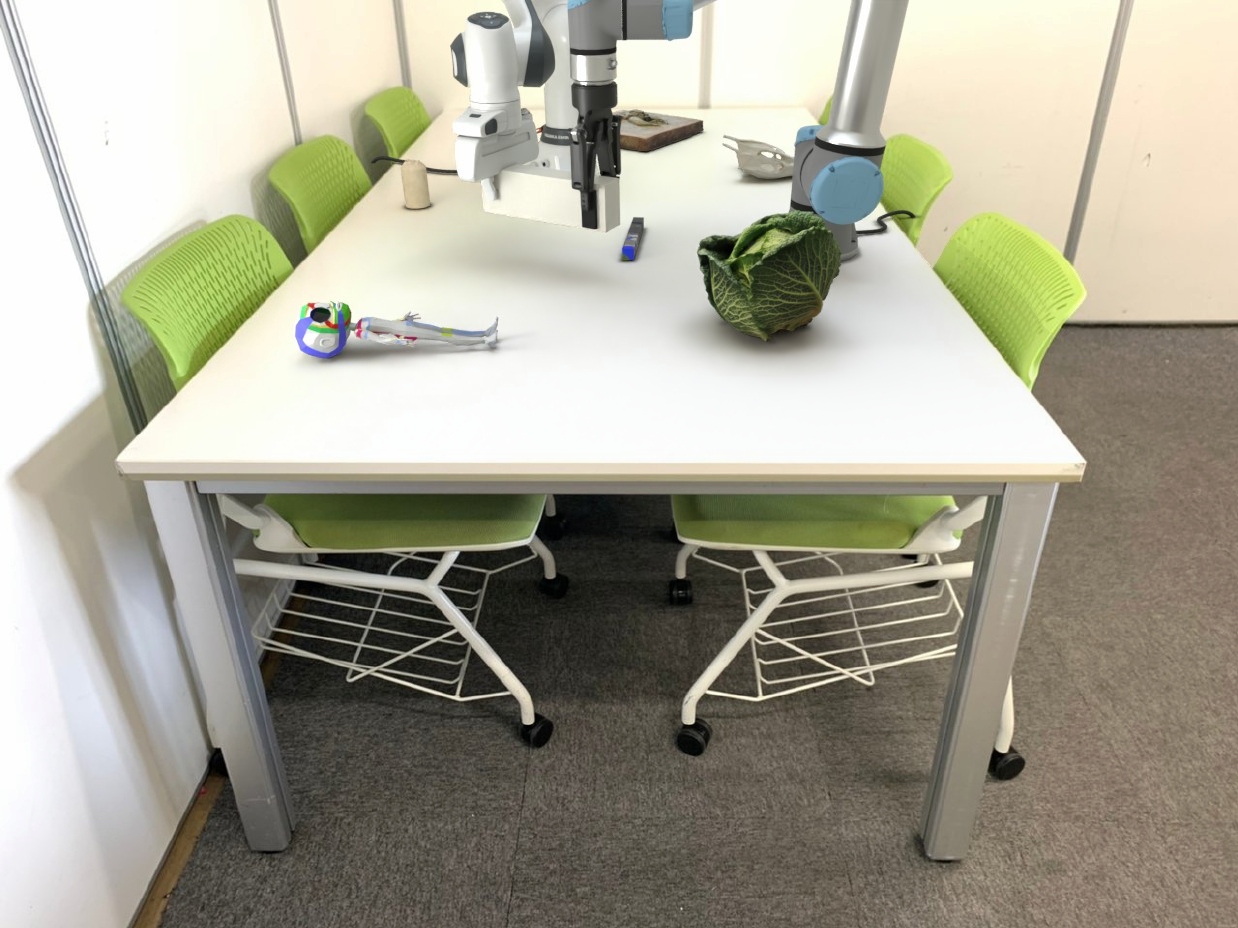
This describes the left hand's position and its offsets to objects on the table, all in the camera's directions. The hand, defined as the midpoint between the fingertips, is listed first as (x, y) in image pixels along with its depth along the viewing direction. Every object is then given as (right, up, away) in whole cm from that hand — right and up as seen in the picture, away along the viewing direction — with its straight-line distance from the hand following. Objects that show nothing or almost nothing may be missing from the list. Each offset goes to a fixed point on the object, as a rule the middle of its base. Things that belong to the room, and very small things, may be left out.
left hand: (503, 195), depth 165 cm
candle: (-24, +9, +38) cm, 45 cm away
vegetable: (+45, -28, -23) cm, 57 cm away
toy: (-12, -32, -27) cm, 44 cm away
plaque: (+26, +45, +94) cm, 107 cm away
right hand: (+18, -7, -8) cm, 21 cm away
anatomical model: (+59, +21, +55) cm, 83 cm away
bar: (+9, -5, -3) cm, 11 cm away
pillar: (+24, -6, +13) cm, 28 cm away
